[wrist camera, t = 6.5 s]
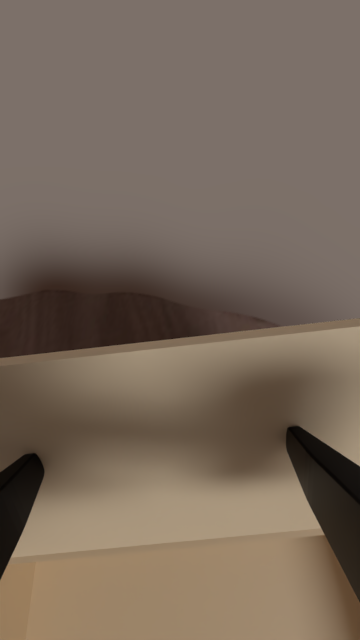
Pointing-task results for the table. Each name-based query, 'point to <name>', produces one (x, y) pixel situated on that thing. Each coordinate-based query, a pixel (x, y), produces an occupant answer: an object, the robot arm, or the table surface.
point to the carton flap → (177, 434)
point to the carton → (183, 592)
